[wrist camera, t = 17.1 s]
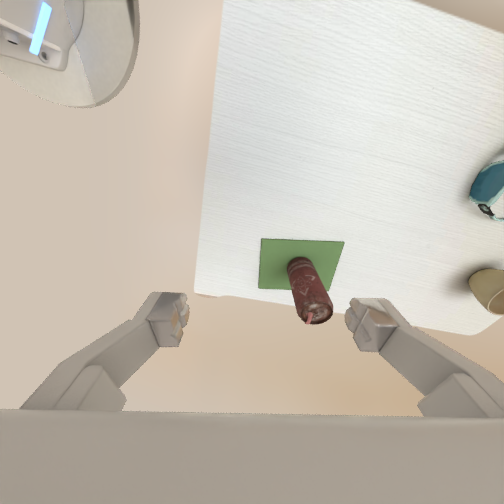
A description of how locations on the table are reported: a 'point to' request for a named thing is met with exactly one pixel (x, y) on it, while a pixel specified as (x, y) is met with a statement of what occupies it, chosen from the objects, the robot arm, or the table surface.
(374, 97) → the table surface
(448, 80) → the table surface
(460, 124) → the table surface
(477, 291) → the flower pot
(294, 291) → the can
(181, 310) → the robot arm
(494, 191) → the sunglasses
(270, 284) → the felt cloth
